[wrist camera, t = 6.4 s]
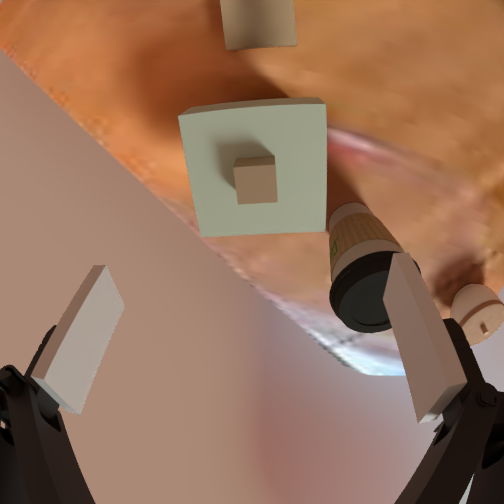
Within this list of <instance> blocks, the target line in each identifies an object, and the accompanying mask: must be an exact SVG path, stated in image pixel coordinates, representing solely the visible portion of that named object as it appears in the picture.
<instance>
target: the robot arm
mask: <svg viewBox="0 0 504 504" xmlns="http://www.w3.org/2000/svg"><path fill="white" fill-rule="evenodd" d="M383 301H384V304H385V307H386V310H387V313H388V316H389V319H390V322H391V326H392V329H393V332H394V335H395V338H396V342H397V345H398V348H399V352H400V355H401V358H402V362H403V366H404V369H405V373H406V376H407V380H408V384H409V388H410V392H411V396H412V400H413V404H414V408H415V413H416V417H417V422H418V424H419V423H423V422H427V421H432V420H435V419H437V417H438V416H439V415H440V414H441V413H442V415H443V419H444V420H443V421H442V422H441V424H440V425H439V426H438V427H437V428H436V429H435V430H434V432H437V433H436V435H435V437H434V439H433V441H432V443H431V445H430V447H429V449H428V450H427V453H426V454H425V456H424V458H423V459H422V461H421V463H420V465H419V466H418V468H417V470H416V472H415V473H414V474H413V476H412V478H411V480H410V481H409V482H408V484H407V486H406V487H405V489H404V490H403V492H402V493H401V495H400V496H399V498H398V499H397V500H396V502H395V504H459V502H460V500H461V498H462V496H463V495H464V493H465V490H466V489H467V486H468V484H469V482H470V480H471V478H472V476H473V474H474V476H473V481H472V485H471V488H470V492H469V495H468V499H467V502H466V504H504V392H499V391H497V390H496V389H495V387H494V386H493V385H491V384H489V383H486V382H485V380H484V378H483V376H482V373H481V371H480V368H479V366H478V364H477V361H476V359H475V356H474V354H473V351H472V349H471V348H470V344H469V342H468V340H466V336H465V333H464V331H463V329H462V327H461V326H460V325H459V324H458V323H457V322H456V321H455V320H454V319H453V318H448V319H442V318H441V316H440V313H439V311H438V309H437V307H436V305H435V303H434V301H433V298H432V296H431V294H430V292H429V290H428V288H427V286H426V284H425V282H424V280H423V278H422V276H421V275H420V273H419V271H418V269H417V267H416V265H415V263H414V261H413V259H412V258H411V256H410V254H409V253H393V257H392V262H391V267H390V271H389V276H388V280H387V284H386V288H385V293H384V297H383ZM124 307H125V305H124V303H123V301H122V299H121V297H120V295H119V293H118V291H117V288H116V286H115V284H114V282H113V279H112V277H111V275H110V273H109V270H108V268H107V266H106V265H94V266H93V268H92V269H91V271H90V272H89V274H88V275H87V277H86V278H85V280H84V282H83V283H82V285H81V286H80V288H79V290H78V291H77V293H76V294H75V296H74V297H73V299H72V301H71V302H70V304H69V306H68V307H67V309H66V311H65V313H64V314H63V316H62V318H61V319H60V321H59V323H58V325H54V326H53V327H52V328H51V329H50V330H49V331H48V332H47V333H46V335H45V337H44V339H43V341H42V344H40V346H39V348H38V351H37V352H36V354H35V355H34V357H33V359H32V361H31V363H30V365H29V367H28V369H27V371H26V373H25V375H24V376H23V375H22V374H21V373H20V372H19V371H18V370H17V369H16V368H15V367H14V366H13V365H6V366H4V367H3V368H1V369H0V425H1V421H2V422H4V423H5V429H4V428H2V427H1V426H0V504H95V502H94V500H93V497H92V495H91V493H90V491H89V489H88V487H87V484H86V482H85V480H84V477H83V475H82V473H81V470H80V468H79V465H78V463H77V460H76V457H75V455H74V452H73V449H72V446H71V444H70V441H69V438H68V435H67V432H66V429H65V426H64V423H63V420H62V416H61V414H60V412H59V411H58V408H59V405H60V406H61V407H62V408H63V409H64V410H66V411H67V412H70V413H73V414H77V415H80V414H81V411H82V408H83V406H84V403H85V400H86V398H87V395H88V392H89V390H90V387H91V384H92V382H93V379H94V377H95V374H96V372H97V369H98V367H99V364H100V362H101V359H102V357H103V355H104V352H105V350H106V347H107V345H108V343H109V341H110V338H111V336H112V333H113V331H114V329H115V327H116V324H117V322H118V320H119V318H120V316H121V313H122V311H123V309H124Z"/></svg>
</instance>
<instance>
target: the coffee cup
mask: <svg viewBox="0 0 504 504" xmlns="http://www.w3.org/2000/svg"><path fill="white" fill-rule="evenodd" d="M329 233H330V237H329V247H330V265H331V281H332V286H331V289H330V296H329V300H330V304H331V307H332V309H333V311H334V312H335V314H336V316H337V317H338V318H339V319H340V320H342V322H343V323H344V324H345V325H346V326H347V327H348V328H350V329H352V330H354V331H357V332H363V333H375V332H381V331H385V330H388V329H391V328H392V326H391V322H390V319H389V316H388V313H387V310H386V307H385V304H384V301H383V297H384V293H385V288H386V284H387V280H388V276H389V271H390V267H391V262H392V257H393V253H405V251H404V250H403V248H402V247H401V246H400V244H399V243H398V242H397V240H396V239H395V238H394V237H393V236H392V234H391V233H390V232H389V231H388V229H387V228H386V227H385V226H384V225H383V223H382V222H381V221H380V220H379V219H378V218H377V217H375V216H374V214H373V213H372V212H371V211H370V210H369V209H368V208H367V207H366V206H365V205H363V204H360V203H347V204H344V205H342V206H340V207H339V208H337V209H336V210H335V211H334V212H333V214H332V215H331V218H330V221H329ZM413 261H414V260H413ZM414 263H415V265H416V267H417V269H418V271H419V273H420V275H421V271H420V268H419V266H418V264H417V263H416V262H415V261H414Z"/></svg>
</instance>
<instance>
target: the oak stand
mask: <svg viewBox="0 0 504 504" xmlns="http://www.w3.org/2000/svg"><path fill="white" fill-rule="evenodd" d="M220 5H221V14H222V22H223V31H224V40H225V48H226V50H227V51H234V50H243V49H254V48H268V47H290V46H297V33H296V23H295V13H294V4H293V0H220Z"/></svg>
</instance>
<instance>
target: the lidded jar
mask: <svg viewBox="0 0 504 504" xmlns="http://www.w3.org/2000/svg"><path fill="white" fill-rule="evenodd" d="M450 318H453V319H454V320H455V321H456V322H457V323H458V324H459V325H460V326H461V327H462V329H463V331H464V333H465V336H466V340H468V342H469V344H470V346H471V345H475V344H478V343H480V342H482V341H484V340H485V339H487V338H488V337H489V336H491V335H492V334H493V333H494V332H495V331H496V330H497V329H498V328H499V327H500V326H501V324H502V323H503V321H504V304H503V303H502V302H501V300H500V298H499V297H498V296H497V295H496V293H495V292H494V291H493V290H492V289H490V288H489V287H487V286H485V285H481V284H468V285H466V286H464V287H463V288H461V289H460V290H459V291H458V292H457V294H456V295H455V297H454V299H453V303H452V306H451V311H450Z"/></svg>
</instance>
